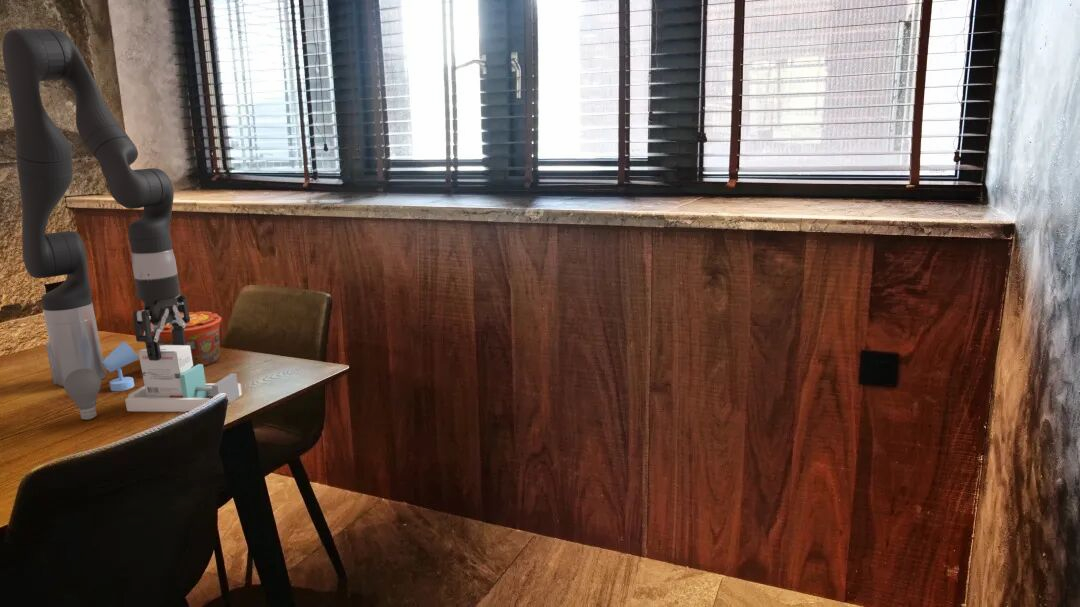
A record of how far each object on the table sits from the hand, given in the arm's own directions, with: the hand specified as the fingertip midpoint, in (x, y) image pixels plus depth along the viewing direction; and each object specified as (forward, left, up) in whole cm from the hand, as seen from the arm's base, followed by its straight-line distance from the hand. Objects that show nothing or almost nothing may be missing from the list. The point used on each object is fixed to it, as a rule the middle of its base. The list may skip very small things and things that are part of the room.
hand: (168, 353), depth 146 cm
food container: (-12, +25, -11) cm, 30 cm away
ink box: (0, -1, -11) cm, 11 cm away
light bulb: (-12, -9, -11) cm, 19 cm away
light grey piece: (+2, -1, -10) cm, 11 cm away
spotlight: (-17, +9, -11) cm, 22 cm away
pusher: (+7, -1, -10) cm, 12 cm away
